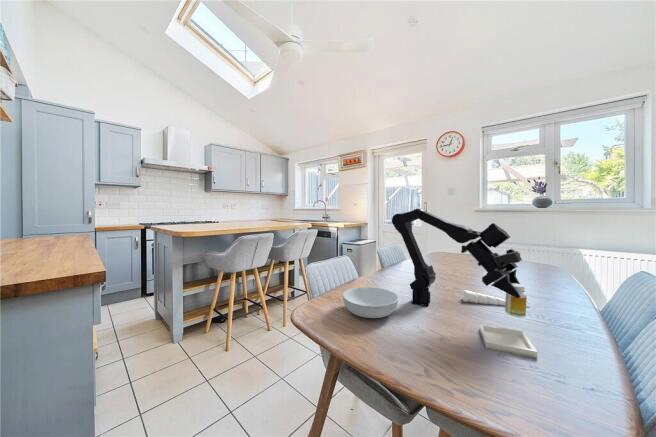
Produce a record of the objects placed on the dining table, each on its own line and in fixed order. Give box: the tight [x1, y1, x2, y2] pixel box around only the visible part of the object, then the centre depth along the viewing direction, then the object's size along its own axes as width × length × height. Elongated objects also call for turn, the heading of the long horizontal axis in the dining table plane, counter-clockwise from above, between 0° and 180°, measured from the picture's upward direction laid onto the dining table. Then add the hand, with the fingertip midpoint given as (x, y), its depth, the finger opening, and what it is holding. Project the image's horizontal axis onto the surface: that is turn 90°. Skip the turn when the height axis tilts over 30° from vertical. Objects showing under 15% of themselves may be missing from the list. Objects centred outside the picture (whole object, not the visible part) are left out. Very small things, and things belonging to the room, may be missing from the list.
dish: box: [479, 323, 538, 359], centre depth 72 cm, size 12×12×2 cm
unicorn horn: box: [462, 289, 531, 308], centre depth 100 cm, size 5×24×5 cm, turn 68°
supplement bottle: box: [504, 283, 528, 318], centre depth 80 cm, size 5×5×10 cm
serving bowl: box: [342, 286, 399, 319], centre depth 93 cm, size 21×21×7 cm
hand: (521, 295), depth 79 cm, fingers closed on supplement bottle, 5 cm apart
